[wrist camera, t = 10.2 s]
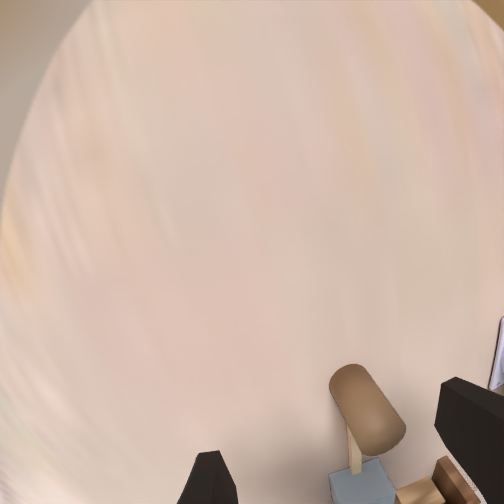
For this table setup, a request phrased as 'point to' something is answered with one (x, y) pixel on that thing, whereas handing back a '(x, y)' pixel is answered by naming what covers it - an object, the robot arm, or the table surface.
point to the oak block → (420, 493)
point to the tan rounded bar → (364, 437)
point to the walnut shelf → (451, 484)
